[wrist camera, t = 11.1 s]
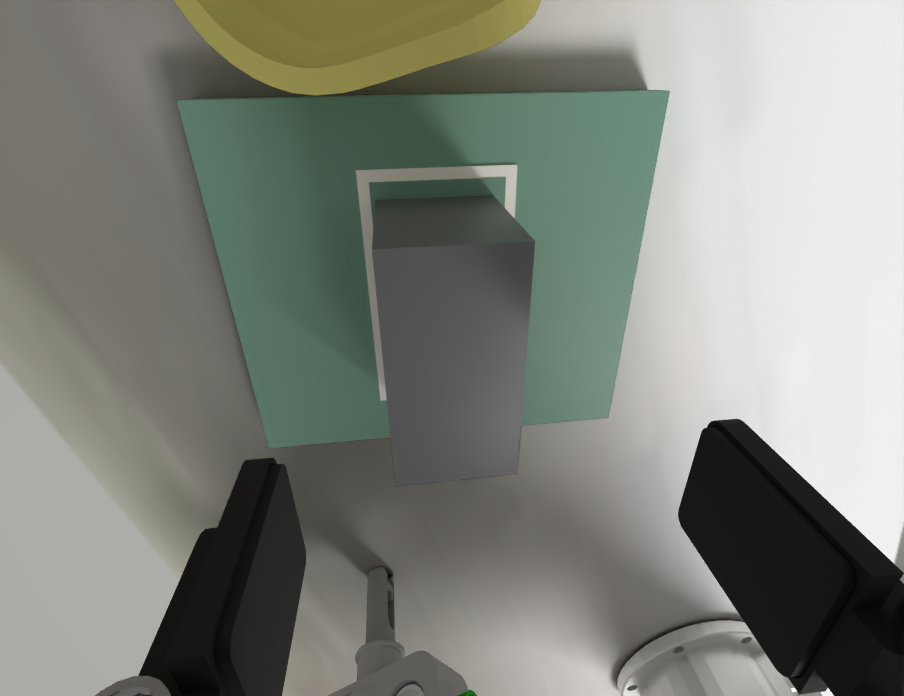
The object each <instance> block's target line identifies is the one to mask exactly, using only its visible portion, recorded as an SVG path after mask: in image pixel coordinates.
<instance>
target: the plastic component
mask: <svg viewBox="0 0 904 696" xmlns="http://www.w3.org/2000/svg"><path fill="white" fill-rule="evenodd" d="M174 2H175V3H176V5H177V6H178V7H179V9H180V10H181V11H182V13H183V14H184V16H185V17H186V18H187V20H188V21H189V22H190V24H191V25H192V26H193V27H194V28H195V29H196V30H197V32H198V33H199V34H200V35H201V36H202V37H203V38H204V40H205V41H206V42H207V43H208V44H209V45H210V46H211V47H212V48H214V49H215V50H216V51H217V52H218V53H219V54H220V55H222V56H223V57H224V58H225V59H226V60H227V61H228V62H230V63H231V64H232V65H234V66H235V67H237V68H238V69H240V70H242V71H243V72H245V73H246V74H248V75H249V76H251V77H252V78H254V79H256V80H259V81H261V82H263V83H265V84H267V85H269V86H272V87H275V88H278V89H281V90H284V91H287V92H290V93H298V94H307V95H316V96H317V95H327V94H337V93H345V92H349V91H354V90H358V89H362V88H365V87H368V86H372V85H375V84H379V83H382V82H385V81H388V80H391V79H394V78H397V77H400V76H403V75H406V74H409V73H413V72H416V71H419V70H422V69H425V68H428V67H431V66H434V65H438V64H441V63H444V62H447V61H451V60H454V59H457V58H461V57H464V56H467V55H471V54H474V53H477V52H480V51H483V50H485V49H487V48H489V47H491V46H494V45H496V44H498V43H500V42H502V41H503V40H505V39H506V38H508V37H510V36H511V35H513V34H514V33H516V32H518V31H519V30H521V29H522V28H523V27H524V26H525V25H526V24H527V23H528V22H529V21H530V20H531V19H532V18H533V16H534V15H535V13H536V11H537V9H538V7H539V4H540V2H541V0H174Z"/></svg>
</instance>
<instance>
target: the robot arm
mask: <svg viewBox="0 0 904 696" xmlns="http://www.w3.org/2000/svg"><path fill="white" fill-rule="evenodd" d="M678 517H679V522H680V524H681V526H682V528H683V530H684V531H685V533H686V534H687V536H688V537H689V539H690V540H691V542H692V543H693V545H694V546H695V548H696V549H697V551H698V552H699V554H700V555H701V557H702V559H703V560H704V562H705V563H706V565H707V566H708V568H709V569H710V571H711V572H712V574H713V575H714V577H715V578H716V580H717V581H718V583H719V584H720V586H721V587H722V589H723V590H724V592H725V593H726V595H727V596H728V598H729V599H730V601H731V602H732V604H733V605H734V607H735V608H736V610H737V611H738V613H739V614H740V616H741V617H742V619H743V620H744V622H741V621H733V620H716V621H709V622H702V623H698V624H694V625H690V626H686V627H683V628H680V629H678V630H675V631H672V632H670V633H668V634H666V635H663V636H661V637H659V638H657V639H655V640H654V641H652V642H650V643H649V644H647V645H645V646H644V647H643V648H641V649H640V650H639V651H637V652H636V653H635V654H634V655H633V656H632V657H631V658H630V659H629V660H628V661H627V662H626V664H625V665H624V666H623V668H622V669H621V671H620V674H619V677H618V681H617V687H618V690H619V692H620V695H621V696H822V695H821V693H820V692H822V691H826V689H827V688H829V689H830V691H831V692H832V693H833V695H834V696H904V584H903V583H902V582H901V581H900V578H901V577H902V575H903V574H904V573H903V572H902V571H901V570H900V569H899V568H898V567H897V566H896V565H895V564H894V563H893V562H891V561H890V560H889V559H888V558H887V557H886V556H885V555H884V554H883V553H882V552H881V551H880V550H879V549H878V548H877V547H876V546H875V545H873V544H872V543H871V542H870V541H869V540H868V539H867V538H866V537H865V536H864V535H863V534H862V533H861V532H860V531H859V530H858V529H857V528H856V527H854V526H853V525H852V524H851V523H850V522H849V521H848V520H847V519H846V518H845V517H844V516H843V515H842V514H841V513H840V512H839V511H838V510H836V509H835V508H834V507H833V506H832V505H831V504H830V503H829V502H828V501H827V500H826V499H825V498H824V497H823V496H822V495H821V494H820V493H818V492H817V491H816V490H815V489H814V488H813V487H812V486H811V485H810V484H809V483H808V482H807V481H806V480H805V479H804V478H803V477H802V476H801V475H799V474H798V473H797V472H796V471H795V470H794V469H793V468H792V467H791V466H790V465H789V464H788V463H787V462H786V461H785V460H784V459H783V458H781V457H780V456H779V455H778V454H777V453H776V452H775V451H774V450H773V449H772V448H771V447H770V446H769V445H768V444H767V443H766V442H765V441H763V440H762V439H761V438H760V437H759V436H758V435H757V434H756V433H755V432H754V431H753V430H752V429H751V428H750V427H749V426H748V425H747V424H745V423H744V422H743V421H742V420H739V419H730V420H718V421H712V422H710V423H709V425H708V427H707V428H704V429H703V430H702V433H701V436H700V439H699V442H698V446H697V449H696V453H695V456H694V459H693V463H692V466H691V470H690V473H689V477H688V480H687V483H686V487H685V490H684V494H683V497H682V500H681V504H680V507H679V511H678ZM305 565H306V550H305V545H304V541H303V537H302V533H301V529H300V524H299V520H298V516H297V512H296V508H295V503H294V499H293V495H292V491H291V487H290V483H289V478H288V474H287V470H286V467H285V465H284V464H277V463H276V460H275V459H274V458H265V459H253V460H246V461H244V463H243V465H242V467H241V470H240V472H239V475H238V477H237V480H236V482H235V485H234V487H233V490H232V492H231V495H230V497H229V500H228V502H227V505H226V507H225V510H224V512H223V515H222V517H221V520H220V522H219V525H218V527H217V528H209V529H205V530H204V531H203V532H202V533H201V534H200V536H199V538H198V540H197V542H196V544H195V546H194V549H193V551H192V553H191V555H190V558H189V560H188V562H187V565H186V567H185V569H184V572H183V574H182V576H181V579H180V581H179V583H178V586H177V588H176V590H175V593H174V595H173V597H172V599H171V602H170V604H169V606H168V609H167V611H166V613H165V616H164V618H163V620H162V622H161V625H160V627H159V629H158V632H157V634H156V636H155V639H154V641H153V643H152V646H151V648H150V650H149V652H148V655H147V657H146V659H145V662H144V664H143V666H142V669H141V671H140V673H139V676H133V677H130V678H127V679H124V680H121V681H118V682H116V683H114V684H112V685H111V686H109V687H107V688H105V689H104V690H102V691H100V692H99V693H98V694H96V695H95V696H282V692H283V686H284V681H285V675H286V670H287V664H288V659H289V653H290V648H291V642H292V637H293V631H294V626H295V620H296V615H297V610H298V604H299V599H300V593H301V588H302V582H303V577H304V571H305Z"/></svg>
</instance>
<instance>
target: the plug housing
mask: <svg viewBox="0 0 904 696" xmlns="http://www.w3.org/2000/svg"><path fill="white" fill-rule="evenodd" d="M534 252H535V240H534V239H533V238H532V237H531V236H530V235H529V234H528V233H527V232H526V230H525V229H524V228H523V227H522V226H521V225H520V224H519V223H518V222H517V221H516V220H515V218H514V217H513V216H512V215H511V214H510V213H509V212H508V211H507V210H506V209H505V207H504V206H503V205H502V204H501V203H500V202H499V201H498V200H497V199H496V198H495V196H494V195H488V196H463V197H438V198H413V199H388V200H375V211H374V226H373V240H372V256H373V266H374V276H375V287H376V297H377V307H378V317H379V327H380V337H381V348H382V358H383V368H384V378H385V388H386V398H387V409H388V419H389V429H390V439H391V449H392V459H393V470H394V480H395V486H404V485H414V484H424V483H434V482H444V481H454V480H464V479H474V478H484V477H494V476H504V475H514V474H518V462H519V449H520V435H521V422H522V409H523V396H524V383H525V370H526V357H527V343H528V330H529V317H530V304H531V291H532V278H533V265H534Z"/></svg>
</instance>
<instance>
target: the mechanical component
mask: <svg viewBox="0 0 904 696" xmlns="http://www.w3.org/2000/svg"><path fill="white" fill-rule="evenodd" d="M355 661H356V663H357V665H358V667H357V681H356V682H354V683H352V684H350V685H348V686H346V687H344V688H342V689H340V690H338V691H336V692H334V693H332V694H330V695H328V696H477V695H476V694H475V692H473V691H472V690H468V687H467V684H466V682H465V680H464V679H463V677H462V676H461V675H460V674H458V673H457V672H455V671H454V670H452V669H451V668H450V667H448V666H447V665H445V664H444V663H442V662H441V661H439V660H438V659H436V658H435V657H434V656H432V655H431V654H429V653H427V652H425V651H417V652H414V653H412V654H410V655H408V656H406V657H405V650H404V648H403V646H402V645H401V644H400V643H398V642H396V641H395V615H394V576H392V577H390V578H388V579H387V572H386V570H385V569H384V568H383V567H378V568H375V569H373V570H371V571H370V572H369V574H368V590H367V620H366V643H365V645H363V646H361V647H360V648H359V649H358V651H357V652H356V655H355Z"/></svg>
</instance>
